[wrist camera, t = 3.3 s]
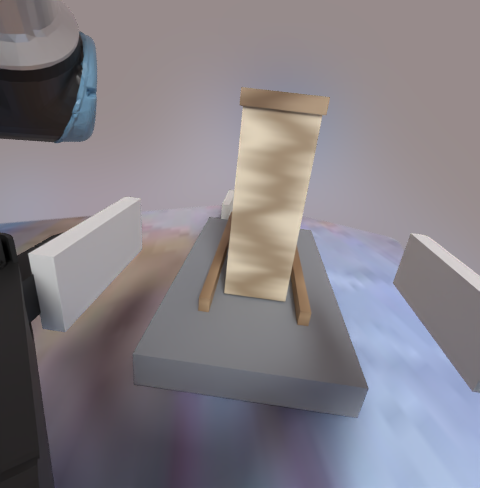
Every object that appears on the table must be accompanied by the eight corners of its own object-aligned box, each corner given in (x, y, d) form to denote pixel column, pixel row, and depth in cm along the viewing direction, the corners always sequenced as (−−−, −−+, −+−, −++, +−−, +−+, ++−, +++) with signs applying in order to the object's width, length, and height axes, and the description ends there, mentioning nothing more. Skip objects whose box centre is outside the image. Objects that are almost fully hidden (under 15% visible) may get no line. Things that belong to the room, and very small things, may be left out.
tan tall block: (221, 294, 25) (241, 87, 19) (232, 251, 32) (249, 94, 26) (287, 303, 24) (329, 97, 18) (283, 258, 32) (311, 101, 26)
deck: (134, 384, 19) (132, 353, 18) (208, 233, 43) (209, 217, 42) (357, 417, 19) (368, 388, 18) (307, 246, 42) (310, 230, 41)
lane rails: (198, 310, 23) (199, 297, 22) (230, 219, 42) (231, 211, 41) (308, 326, 22) (311, 312, 22) (289, 227, 42) (291, 219, 41)
